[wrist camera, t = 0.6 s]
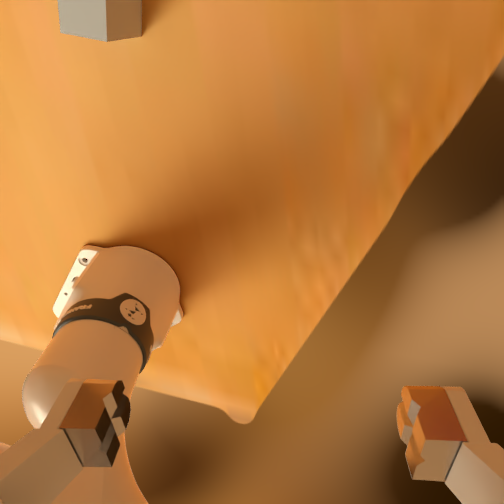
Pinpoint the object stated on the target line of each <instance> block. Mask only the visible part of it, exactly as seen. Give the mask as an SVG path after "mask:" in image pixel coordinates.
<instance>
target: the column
mask: <svg viewBox="0 0 504 504" xmlns="http://www.w3.org/2000/svg"><path fill="white" fill-rule="evenodd" d="M58 10H59V21H60V32H61V33H64V34H69V35H75V36H80V37H85V38H90V39H95V40H101V41H106V42H108V41H115V40H121V39H128V38H134V37H141V36H142V0H58Z"/></svg>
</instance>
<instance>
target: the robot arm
mask: <svg viewBox="0 0 504 504" xmlns="http://www.w3.org/2000/svg"><path fill="white" fill-rule="evenodd" d="M84 258H86V259H87V260H85V259H84ZM179 298H180V285H179V281H178V278H177V276H176V274H175V272H174V271H173V270H172V268H171V267H170V266H169V265H168V264H167V263H166V262H165V261H164V260H163V259H161V258H160V257H159V256H157V255H155V254H154V253H152V252H150V251H147V250H145V249H142V248H138V247H133V246H116V247H110V248H102V247H97V246H92V245H86V246H83V247H82V249H81V250H80V252H79V254H78V256H77V258H76V260H75V262H74V264H73V266H72V268H71V270H70V273H69V275H68V277H67V279H66V281H65V283H64V285H63V287H62V289H61V291H60V293H59V295H58V297H57V299H56V301H55V303H54V305H53V311H54V313H55V315H56V316H57V317H58V320H57V322H56V324H55V326H54V333H53V337H52V340H51V342H50V343H49V345H48V346H47V348H46V349H45V350H44V352H43V354H42V355H41V356H40V358H39V359H38V361H37V362H36V363H35V365H34V367H33V368H32V369H31V371H30V372H29V374H28V375H27V377H26V379H25V382H24V384H23V389H22V401H23V406H24V409H25V412H26V415H27V418H28V420H29V421H30V423H31V424H32V426H33V427H34V429H33V430H32V431H30V432H29V433H28V434H27V435H25V436H24V437H23V438H21V439H20V440H19V441H17V442H16V443H15V444H14V445H12V446H10V445H7V444H4V443H2V442H0V504H148V502H147V501H146V500H145V498H144V496H143V495H142V493H141V491H140V489H139V487H138V485H137V483H136V481H135V479H134V476H133V474H132V471H131V468H130V464H129V461H128V456H127V452H126V445H125V430H126V428H127V425H128V422H129V418H130V411H131V409H130V398H131V395H132V391H133V388H134V385H135V382H136V380H137V377H138V375H139V374H140V373H141V372H142V370H143V369H144V367H145V365H146V364H147V362H148V360H149V358H150V355H151V352H152V351H153V350H154V349H156V348H157V347H161V346H162V344H163V343H164V340H165V338H166V336H167V334H168V332H169V329H170V327H172V326H173V325H175V324H177V323H179V322H180V321H181V320H182V318H183V311H182V308H181V306H180V303H179ZM401 396H402V399H403V401H402V402H401V403H399V404H398V408H397V425H398V430H399V434H400V438H401V440H403V442H404V443H405V444H406V445H407V446H408V447H407V450H406V454H405V456H406V459H407V463H408V466H409V470H410V473H411V477H412V479H417V480H431V481H446V482H445V484H446V485H447V486H448V487H449V488H450V490H451V491H452V492H453V493H454V494H455V496H456V497H457V498H458V499H459V500H460V502H461V503H462V504H504V449H502V448H501V447H500V446H499V445H498V444H497V443H490V441H489V439H488V437H487V435H486V433H485V431H484V429H483V427H482V425H481V423H480V421H479V419H478V417H477V414H476V412H475V410H474V409H473V406H472V404H471V402H470V400H469V398H468V396H467V394H466V392H465V390H464V389H463V388H461V387H440V386H404V387H403V388H402V392H401Z"/></svg>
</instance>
